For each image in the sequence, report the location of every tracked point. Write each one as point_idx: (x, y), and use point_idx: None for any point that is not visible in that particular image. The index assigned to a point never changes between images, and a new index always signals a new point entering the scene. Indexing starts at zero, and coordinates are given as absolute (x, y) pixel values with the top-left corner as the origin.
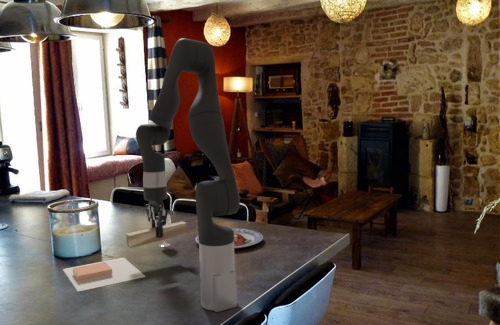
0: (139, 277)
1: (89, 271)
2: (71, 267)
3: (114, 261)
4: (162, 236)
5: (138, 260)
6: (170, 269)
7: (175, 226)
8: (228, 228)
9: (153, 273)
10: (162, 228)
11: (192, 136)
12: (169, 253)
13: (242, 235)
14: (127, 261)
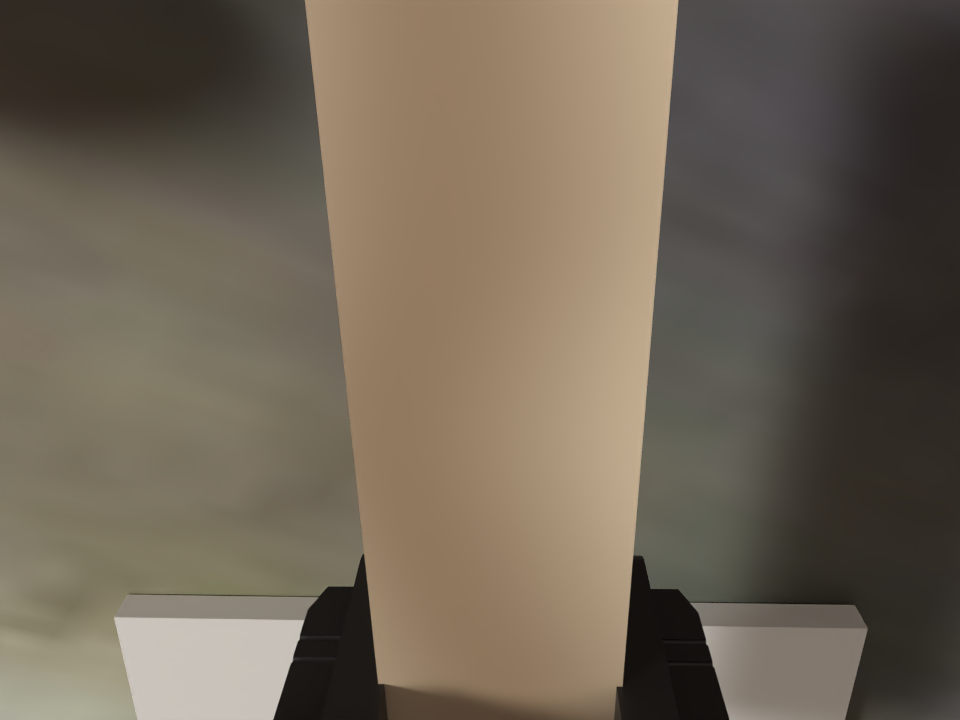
0: (840, 676)
1: None
2: None
3: (211, 715)
4: (639, 566)
5: (212, 481)
6: (760, 301)
7: (645, 319)
8: None
9: (740, 495)
10: (675, 700)
11: None
12: (107, 43)
13: None
14: (282, 627)
